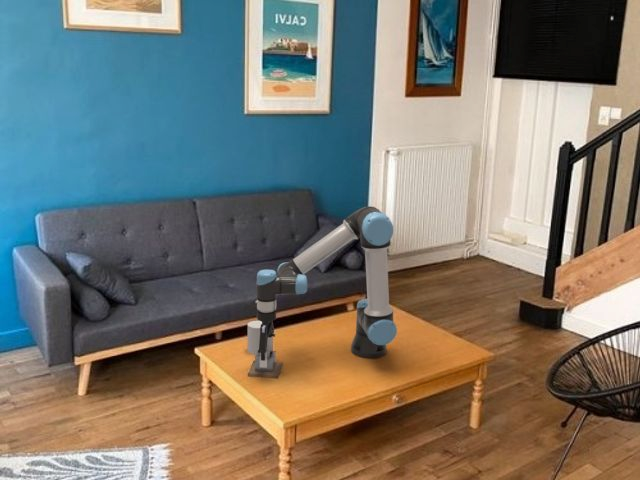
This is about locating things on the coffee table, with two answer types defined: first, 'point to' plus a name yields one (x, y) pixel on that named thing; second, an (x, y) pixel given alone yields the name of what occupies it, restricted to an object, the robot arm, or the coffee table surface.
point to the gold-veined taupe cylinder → (253, 337)
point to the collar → (270, 362)
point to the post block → (266, 374)
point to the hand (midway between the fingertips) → (266, 359)
